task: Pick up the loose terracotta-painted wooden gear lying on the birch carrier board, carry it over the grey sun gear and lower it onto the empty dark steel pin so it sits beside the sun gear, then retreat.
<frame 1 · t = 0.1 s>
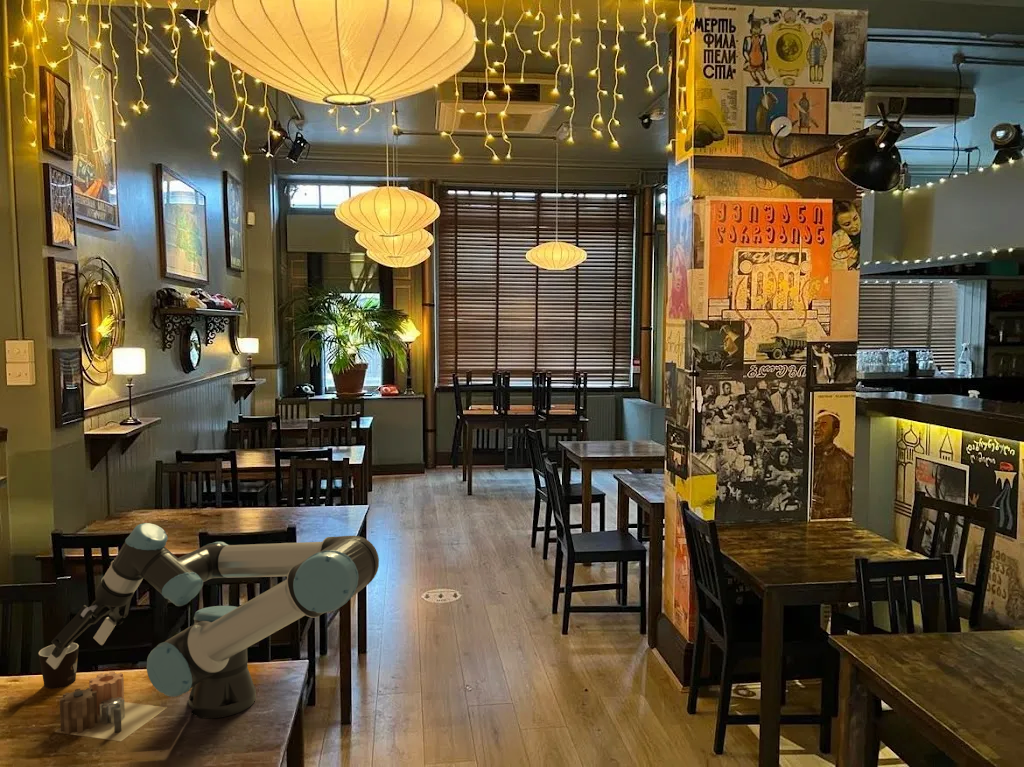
hand: (75, 652, 174), 15 cm above the table, tool tilted 35°, fingers open, 13 cm apart
planet gear: (107, 707, 176), point 1 cm above the table, touching carrier
pinned planet gear: (78, 709, 168), point 5 cm above the table
carrier: (112, 725, 171), on the table
coffee mug: (65, 686, 191), on the table
sun gear: (112, 710, 171), point 4 cm above the table
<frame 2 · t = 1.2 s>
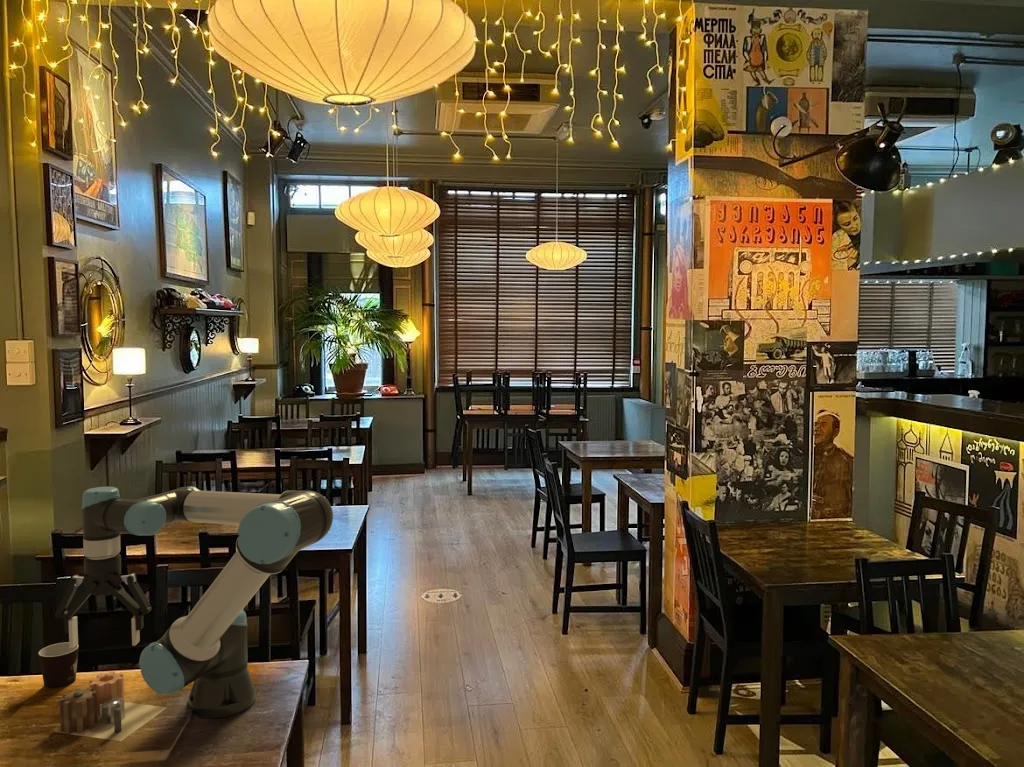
hand: (105, 644, 175), 17 cm above the table, tool pointing down, fingers open, 13 cm apart
nothing on the table moved.
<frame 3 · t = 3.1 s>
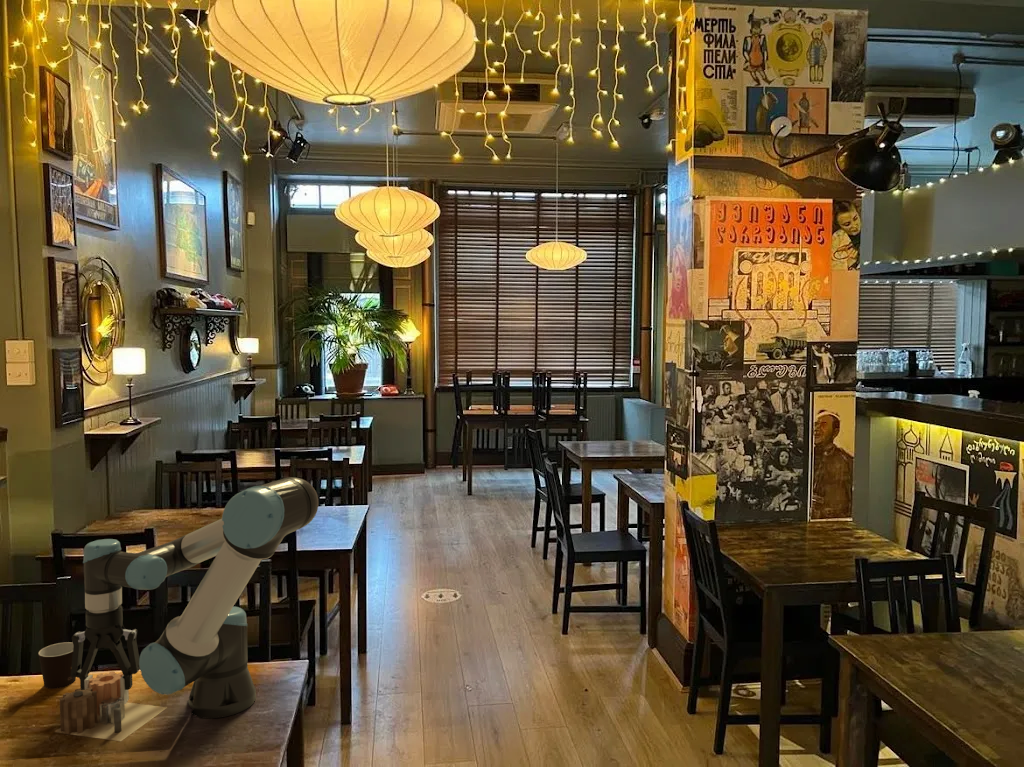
hand: (107, 703, 176), 3 cm above the table, tool pointing down, fingers closed on planet gear, 7 cm apart
planet gear: (107, 707, 176), point 2 cm above the table, touching carrier, gripper
everything else where it was.
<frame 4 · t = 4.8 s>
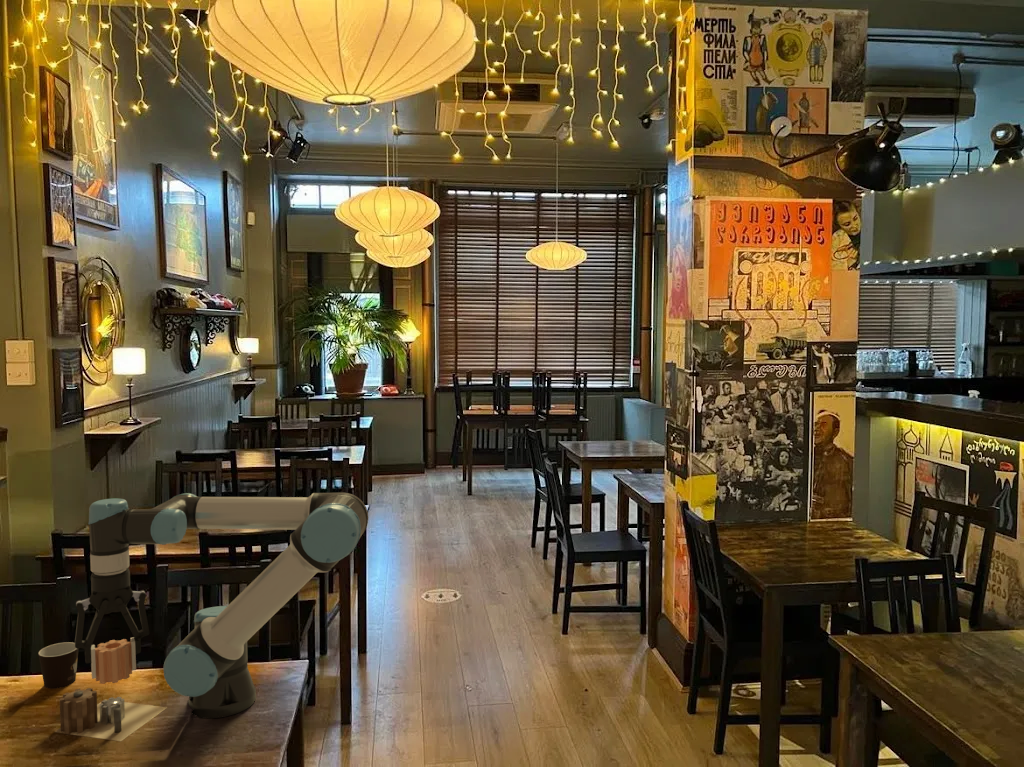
hand: (114, 671, 167), 14 cm above the table, tool pointing down, fingers closed on planet gear, 7 cm apart
planet gear: (114, 676, 167), point 13 cm above the table, touching gripper
everything else where it was.
when the fingers open (4 cm above the table, at t = 7.0 s): planet gear drops 1 cm, resting on carrier.
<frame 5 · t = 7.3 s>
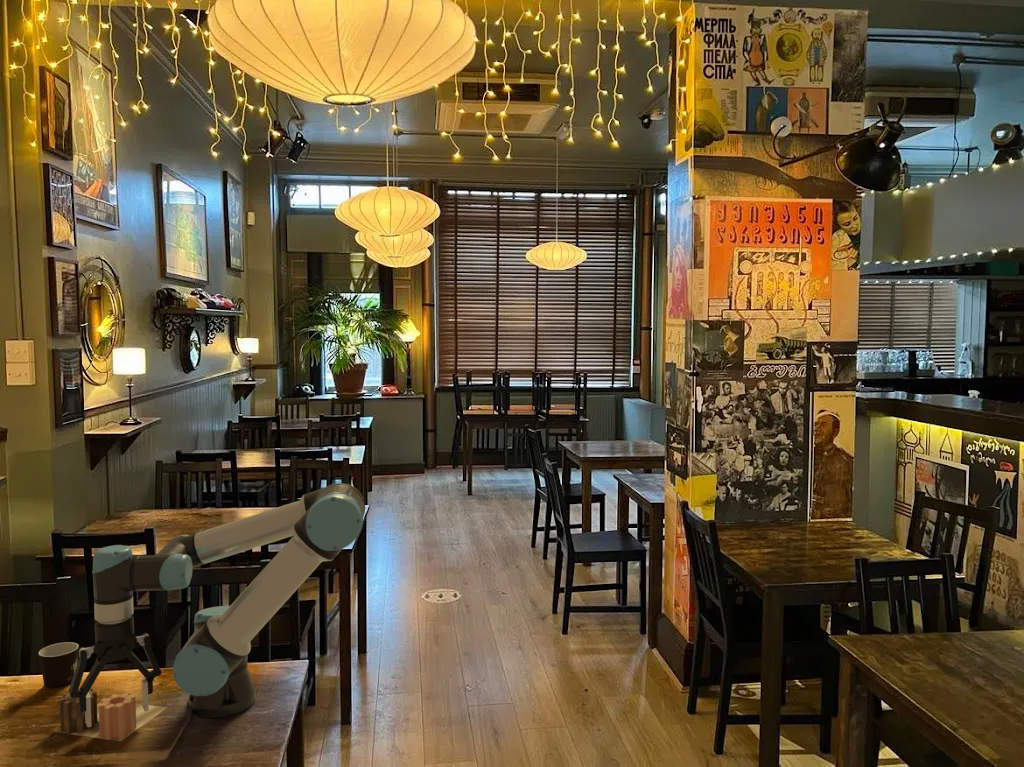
hand: (117, 716, 166), 5 cm above the table, tool pointing down, fingers open, 10 cm apart
planet gear: (118, 731, 166), point 1 cm above the table, touching carrier
everything else where it was.
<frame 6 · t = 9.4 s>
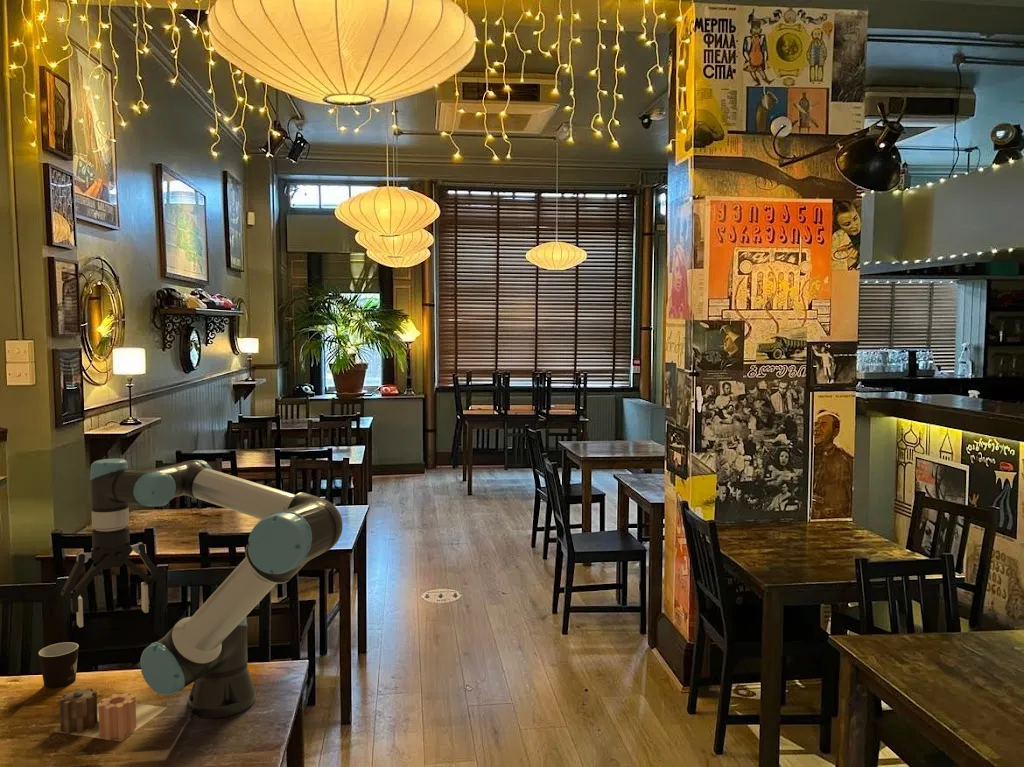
hand: (113, 618, 174), 23 cm above the table, tool pointing down, fingers open, 13 cm apart
nothing on the table moved.
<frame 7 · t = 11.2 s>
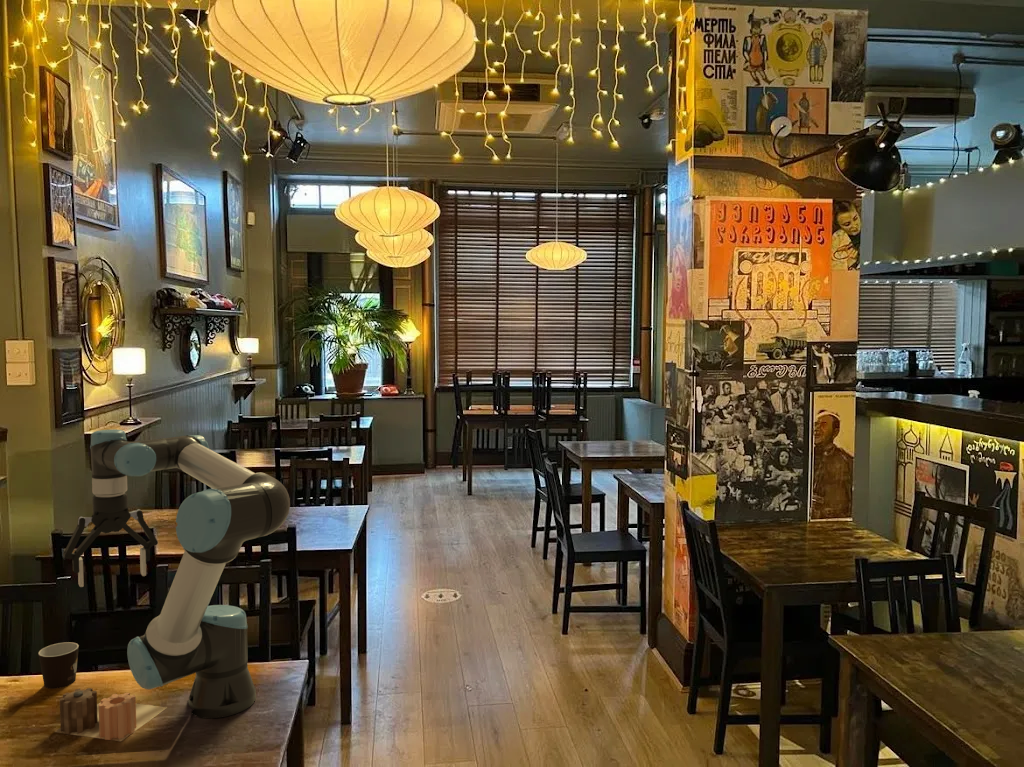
hand: (112, 580, 184), 29 cm above the table, tool pointing down, fingers open, 13 cm apart
nothing on the table moved.
at the end: planet gear 0.0 cm from the target spot on the carrier, point 1.5 cm above the carrier's base; planet gear tilted 0°; the gripper is holding nothing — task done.
